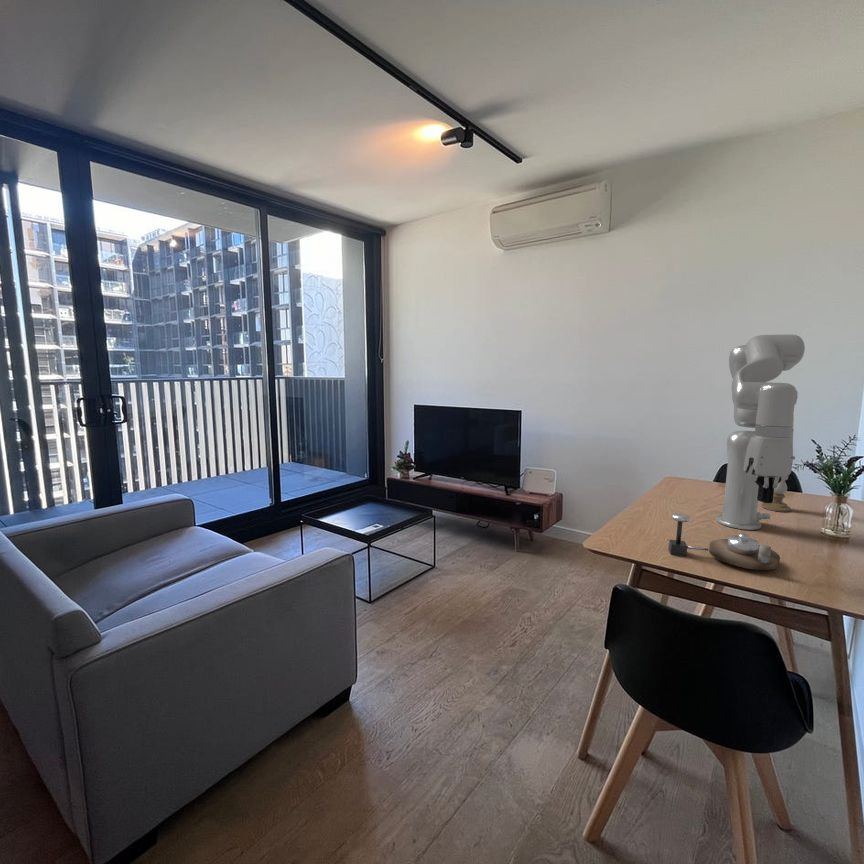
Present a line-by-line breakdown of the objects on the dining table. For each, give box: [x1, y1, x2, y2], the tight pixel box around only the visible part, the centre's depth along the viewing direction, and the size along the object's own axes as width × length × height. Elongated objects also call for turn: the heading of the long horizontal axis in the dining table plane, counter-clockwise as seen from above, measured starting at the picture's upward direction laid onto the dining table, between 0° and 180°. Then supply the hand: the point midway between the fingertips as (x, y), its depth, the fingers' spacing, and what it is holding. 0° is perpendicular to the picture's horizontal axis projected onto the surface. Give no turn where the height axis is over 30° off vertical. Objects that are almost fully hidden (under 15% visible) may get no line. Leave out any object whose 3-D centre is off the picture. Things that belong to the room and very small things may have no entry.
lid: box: [727, 532, 760, 556], centre depth 126 cm, size 7×7×4 cm
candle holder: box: [761, 455, 796, 513], centre depth 171 cm, size 9×9×20 cm
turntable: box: [708, 538, 781, 571], centre depth 126 cm, size 16×16×6 cm
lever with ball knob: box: [667, 512, 709, 558], centre depth 130 cm, size 10×4×11 cm, turn 72°
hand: (764, 501), depth 121 cm, fingers closed
